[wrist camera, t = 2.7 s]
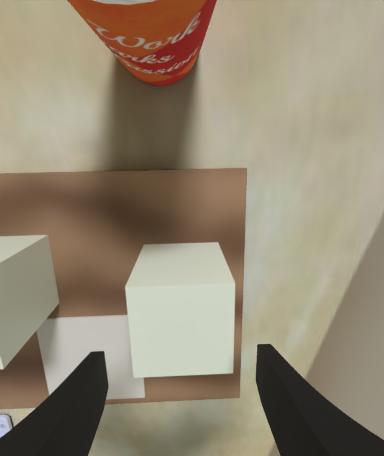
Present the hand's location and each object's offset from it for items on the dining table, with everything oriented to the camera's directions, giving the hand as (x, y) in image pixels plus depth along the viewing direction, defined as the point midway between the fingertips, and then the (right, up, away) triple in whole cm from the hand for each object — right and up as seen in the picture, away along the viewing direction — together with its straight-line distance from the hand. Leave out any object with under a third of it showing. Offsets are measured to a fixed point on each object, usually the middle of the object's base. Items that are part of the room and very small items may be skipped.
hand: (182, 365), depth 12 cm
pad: (-8, -5, +12) cm, 15 cm away
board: (-6, +1, +10) cm, 12 cm away
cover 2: (0, +2, +9) cm, 9 cm away
